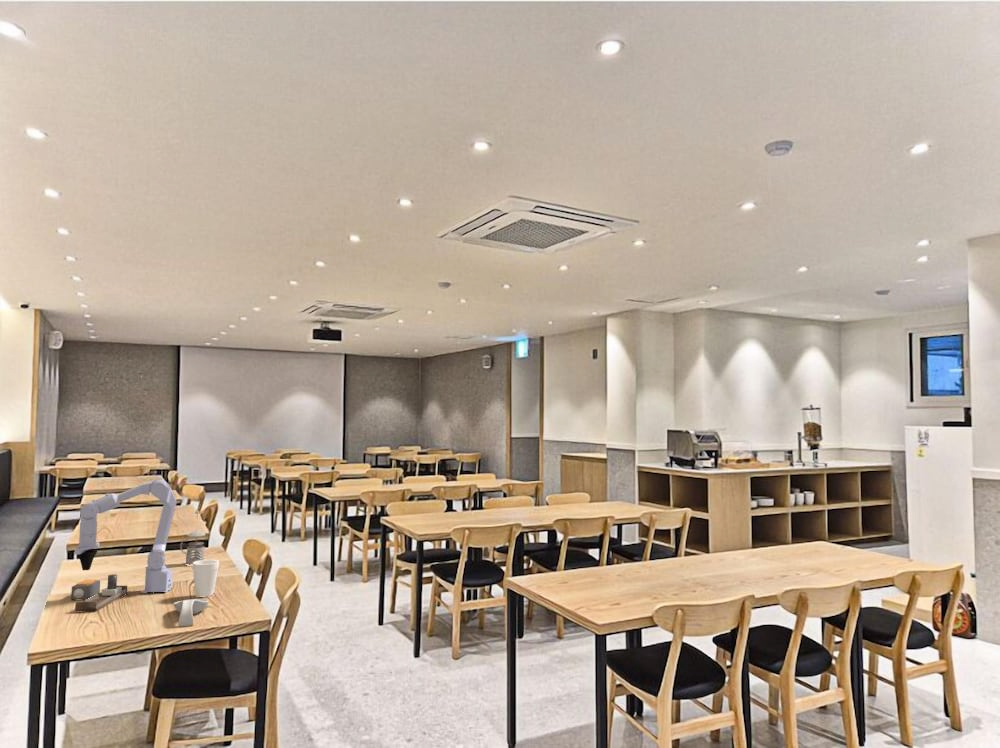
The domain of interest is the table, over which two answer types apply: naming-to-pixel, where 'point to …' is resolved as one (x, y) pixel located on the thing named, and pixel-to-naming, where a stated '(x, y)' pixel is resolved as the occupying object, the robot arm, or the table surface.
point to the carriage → (111, 586)
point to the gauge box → (85, 590)
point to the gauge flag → (85, 582)
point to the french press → (192, 546)
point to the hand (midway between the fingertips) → (86, 569)
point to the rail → (99, 601)
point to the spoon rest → (189, 610)
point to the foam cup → (205, 576)
